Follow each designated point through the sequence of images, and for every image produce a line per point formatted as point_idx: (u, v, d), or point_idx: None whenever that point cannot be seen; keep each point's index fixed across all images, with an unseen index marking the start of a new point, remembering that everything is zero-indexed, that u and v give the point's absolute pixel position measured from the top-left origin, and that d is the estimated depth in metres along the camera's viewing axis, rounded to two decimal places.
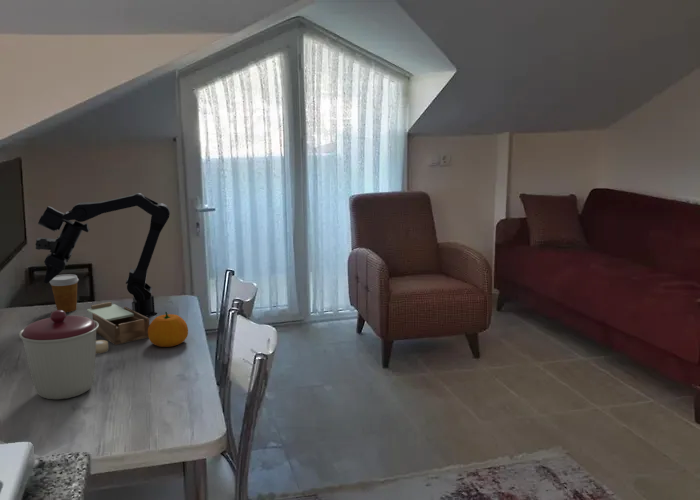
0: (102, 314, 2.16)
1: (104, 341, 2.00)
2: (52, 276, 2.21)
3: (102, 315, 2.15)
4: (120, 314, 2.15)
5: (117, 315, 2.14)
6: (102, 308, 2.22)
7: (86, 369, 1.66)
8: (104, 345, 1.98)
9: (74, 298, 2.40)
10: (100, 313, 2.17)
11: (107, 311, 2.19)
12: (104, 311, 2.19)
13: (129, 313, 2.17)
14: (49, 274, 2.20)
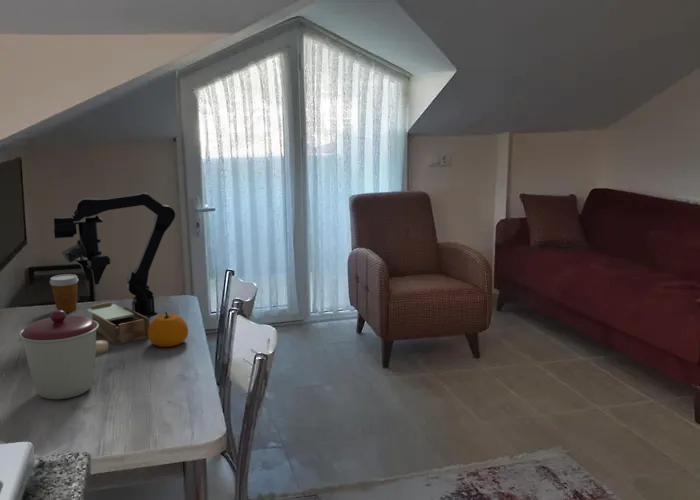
0: (102, 314, 2.16)
1: (104, 341, 2.00)
2: (100, 275, 2.24)
3: (102, 315, 2.15)
4: (120, 314, 2.15)
5: (117, 315, 2.14)
6: (102, 308, 2.22)
7: (86, 369, 1.66)
8: (104, 345, 1.98)
9: (74, 298, 2.40)
10: (100, 313, 2.17)
11: (107, 311, 2.19)
12: (104, 311, 2.19)
13: (129, 313, 2.17)
14: (97, 275, 2.23)
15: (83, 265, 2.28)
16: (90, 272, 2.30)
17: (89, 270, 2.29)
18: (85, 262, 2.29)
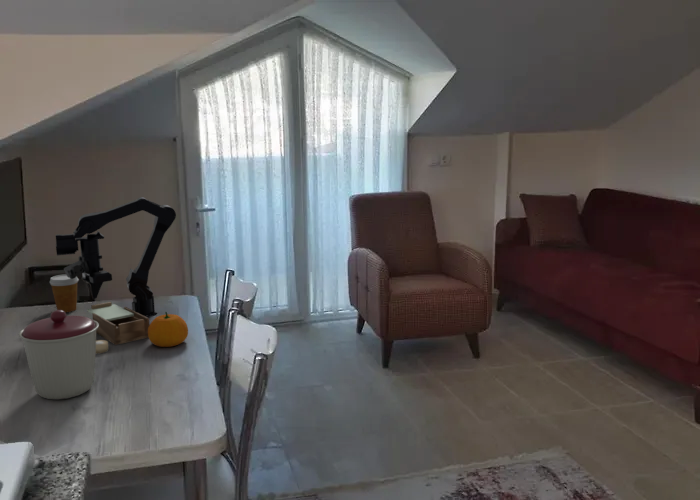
0: (102, 314, 2.16)
1: (104, 341, 2.00)
2: (98, 289, 2.27)
3: (102, 315, 2.15)
4: (120, 314, 2.15)
5: (117, 315, 2.14)
6: (102, 308, 2.22)
7: (86, 369, 1.66)
8: (104, 345, 1.98)
9: (74, 298, 2.40)
10: (100, 313, 2.17)
11: (107, 311, 2.19)
12: (104, 311, 2.19)
13: (129, 313, 2.17)
14: (95, 289, 2.26)
15: (89, 283, 2.27)
16: None
17: None
18: None
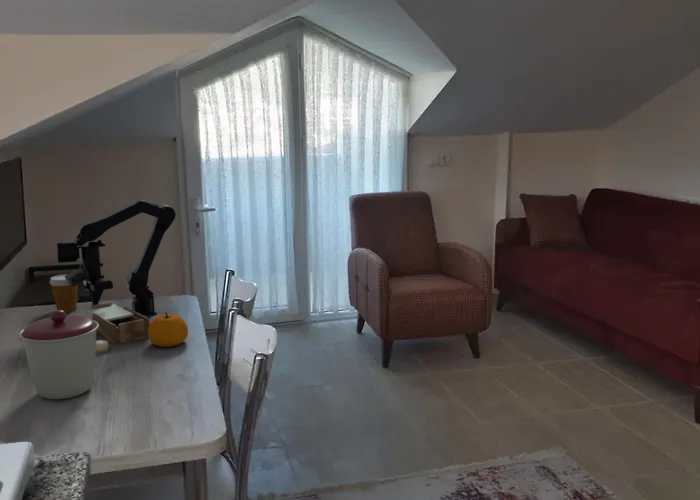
0: (102, 314, 2.16)
1: (104, 341, 2.00)
2: (99, 296, 2.27)
3: (102, 315, 2.15)
4: (120, 314, 2.15)
5: (117, 315, 2.14)
6: (102, 308, 2.22)
7: (86, 369, 1.66)
8: (104, 345, 1.98)
9: (74, 298, 2.40)
10: (100, 313, 2.17)
11: (107, 311, 2.19)
12: (104, 311, 2.19)
13: (129, 313, 2.17)
14: (95, 296, 2.27)
15: (89, 290, 2.27)
16: None
17: None
18: None
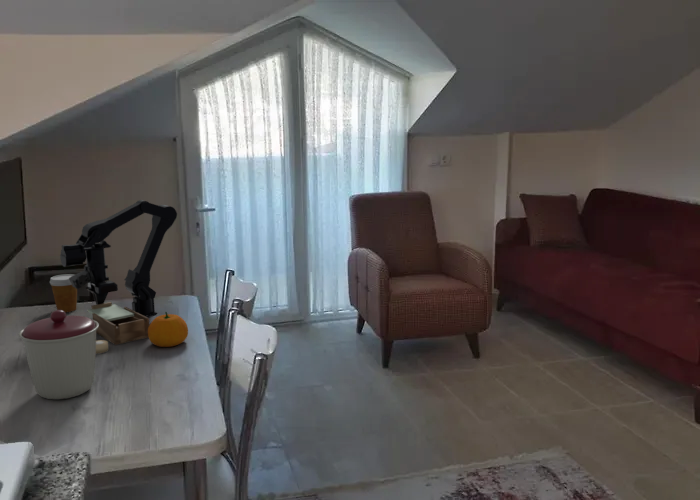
0: (102, 314, 2.16)
1: (104, 341, 2.00)
2: (103, 299, 2.24)
3: (102, 315, 2.14)
4: (120, 314, 2.15)
5: (117, 315, 2.14)
6: (102, 308, 2.22)
7: (86, 369, 1.66)
8: (104, 345, 1.98)
9: (74, 298, 2.40)
10: (100, 313, 2.17)
11: (108, 311, 2.19)
12: (104, 311, 2.19)
13: (129, 313, 2.16)
14: (100, 299, 2.24)
15: None
16: None
17: None
18: None
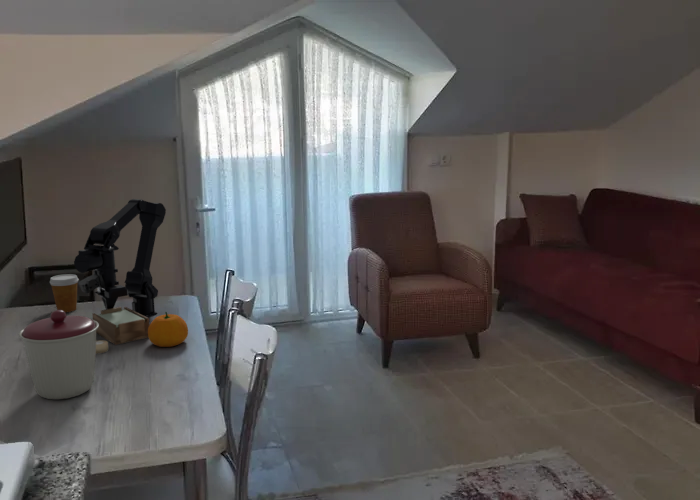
0: (112, 320, 2.10)
1: (104, 341, 2.00)
2: (113, 304, 2.19)
3: (112, 321, 2.09)
4: (131, 320, 2.10)
5: (128, 321, 2.09)
6: (112, 313, 2.16)
7: (86, 369, 1.66)
8: (104, 345, 1.98)
9: (74, 298, 2.40)
10: (110, 318, 2.11)
11: (118, 316, 2.13)
12: (114, 317, 2.13)
13: (140, 318, 2.11)
14: (110, 303, 2.18)
15: (104, 297, 2.18)
16: None
17: None
18: None
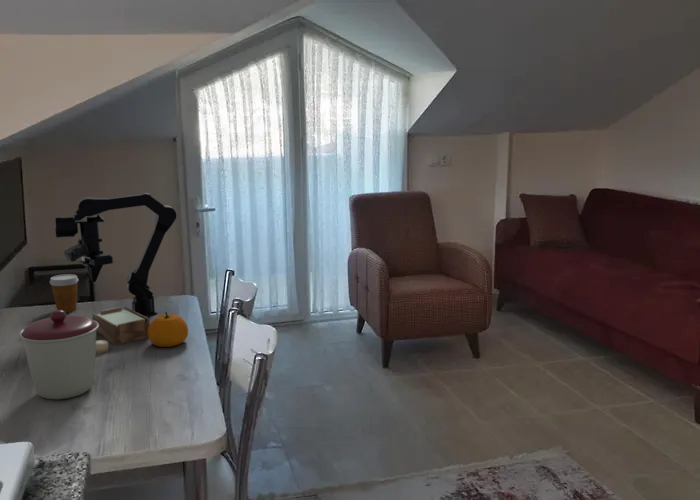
0: (112, 320, 2.10)
1: (104, 341, 2.00)
2: (97, 272, 2.27)
3: (112, 321, 2.09)
4: (131, 320, 2.10)
5: (128, 321, 2.09)
6: (112, 313, 2.16)
7: (86, 369, 1.66)
8: (104, 345, 1.98)
9: (74, 298, 2.40)
10: (110, 318, 2.11)
11: (118, 316, 2.13)
12: (114, 317, 2.13)
13: (140, 318, 2.11)
14: (94, 272, 2.26)
15: (88, 266, 2.26)
16: None
17: None
18: None
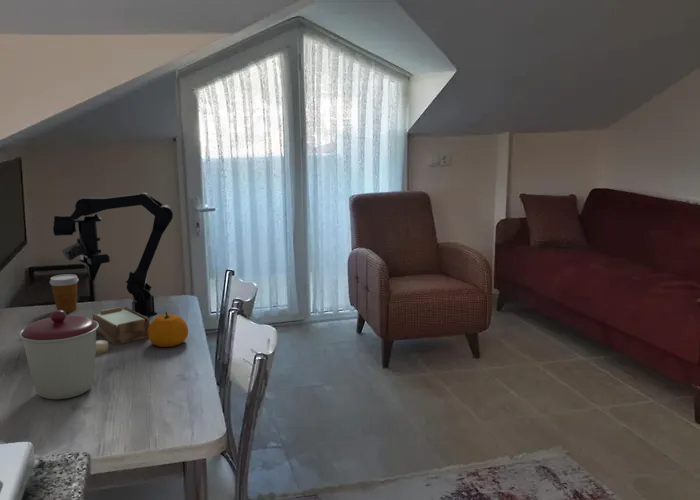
0: (112, 320, 2.10)
1: (104, 341, 2.00)
2: (96, 271, 2.29)
3: (112, 321, 2.09)
4: (131, 320, 2.10)
5: (128, 321, 2.09)
6: (112, 313, 2.16)
7: (86, 369, 1.66)
8: (104, 345, 1.98)
9: (74, 298, 2.40)
10: (110, 318, 2.11)
11: (118, 316, 2.13)
12: (114, 317, 2.13)
13: (140, 318, 2.11)
14: (92, 271, 2.28)
15: (87, 265, 2.28)
16: None
17: None
18: None
